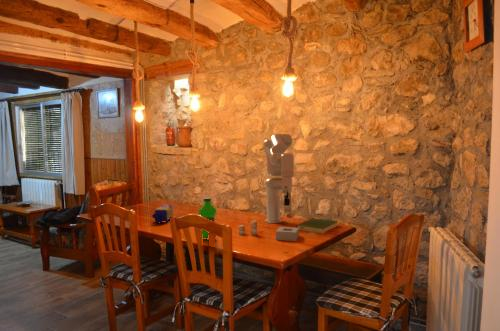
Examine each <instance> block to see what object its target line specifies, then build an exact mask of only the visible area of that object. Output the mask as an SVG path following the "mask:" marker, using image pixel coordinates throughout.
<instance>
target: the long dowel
mask: <svg viewBox="0 0 500 331" xmlns="http://www.w3.org/2000/svg"><path fill="white" fill-rule="evenodd" d="M291 193H292V192H291ZM291 193H290V194H289V199H290V205H289V206H285V205H284V204H283V212H284V213H283V214H287V215H289V214H291V213H292V204H291V203H292V194H291ZM287 194H288V193H287Z"/></svg>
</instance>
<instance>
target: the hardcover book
mask: <svg viewBox="0 0 500 331" xmlns="http://www.w3.org/2000/svg"><path fill="white" fill-rule="evenodd" d="M338 223H339V221H337V220H331V219H322V218H314V217H312V218H310V219H308V220H306V221H303V222H301V223H298V224H297V225H296V228H299V231H304V232H309V233H318V234H325V233H327V232H329V231H331V230H333V229H334V227H335V228H336V226H337V227H338V225H339V224H338ZM332 228H333V229H332ZM330 229H331V230H330ZM328 230H329V231H328ZM326 231H327V232H326Z"/></svg>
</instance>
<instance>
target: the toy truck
mask: <svg viewBox="0 0 500 331" xmlns="http://www.w3.org/2000/svg"><path fill="white" fill-rule="evenodd" d="M173 208H174V207H173V205H171V204H167V205H166V204H162V205H160V206H158V207H156V208H155V209H154V213H153V214H152V215H151V216H152V218H153V219H154V222H155V221H156V222H155V223H156V224H157V223H159V222H160V224H162V223H161V222H162V221H168V220H169V219H170V217H172V218H173V216H174V209H173ZM170 220H171V219H170ZM170 220H169V221H170ZM169 221H168V222H169Z"/></svg>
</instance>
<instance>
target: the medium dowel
mask: <svg viewBox="0 0 500 331" xmlns="http://www.w3.org/2000/svg"><path fill="white" fill-rule="evenodd" d="M250 235H251V236H257V235H258V221H257V220H252V221H250Z"/></svg>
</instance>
